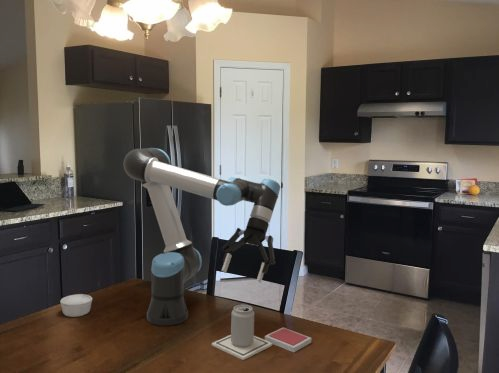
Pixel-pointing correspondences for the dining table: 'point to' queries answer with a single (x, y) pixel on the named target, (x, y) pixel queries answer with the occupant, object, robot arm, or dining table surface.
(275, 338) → the ink pad
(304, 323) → the dining table surface
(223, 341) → the marked board
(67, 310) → the ramekin
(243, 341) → the can
